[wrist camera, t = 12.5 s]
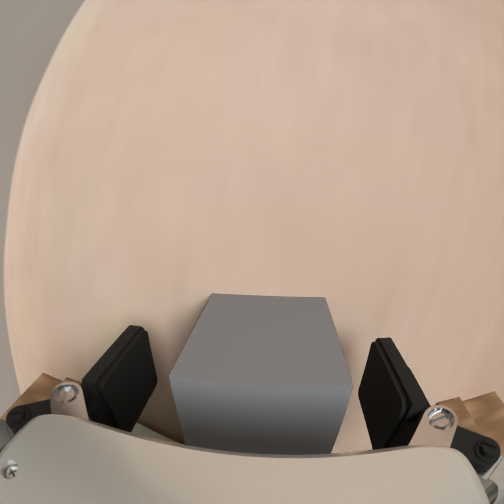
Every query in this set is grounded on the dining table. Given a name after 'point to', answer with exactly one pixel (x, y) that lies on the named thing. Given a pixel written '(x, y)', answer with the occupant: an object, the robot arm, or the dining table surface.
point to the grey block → (262, 377)
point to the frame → (468, 412)
